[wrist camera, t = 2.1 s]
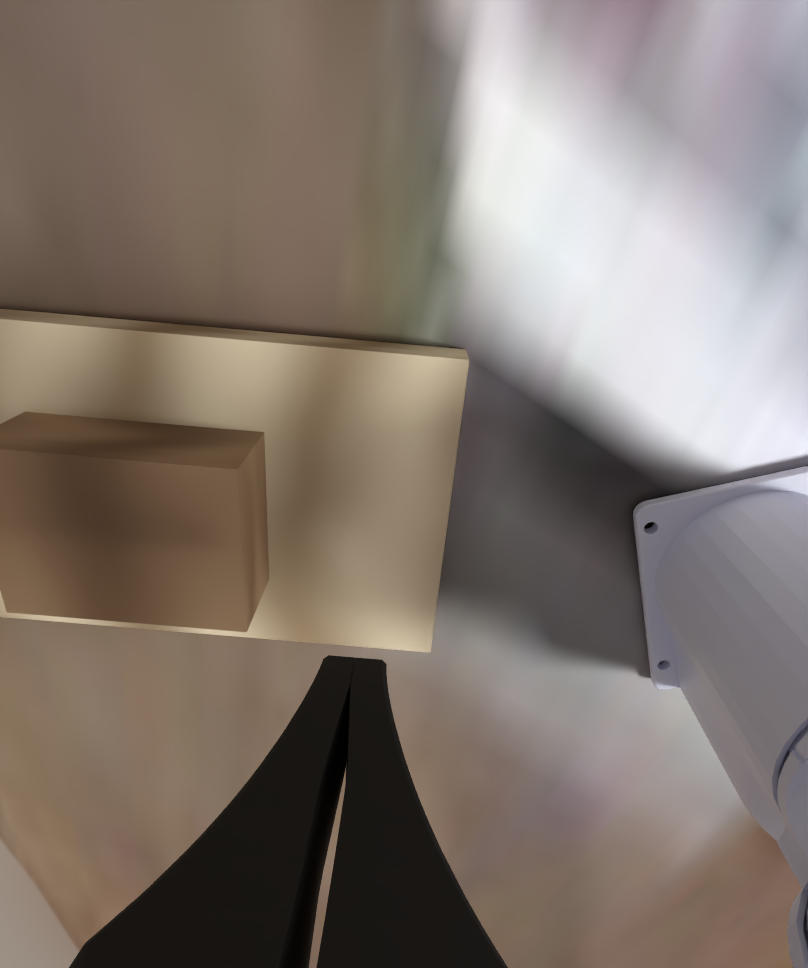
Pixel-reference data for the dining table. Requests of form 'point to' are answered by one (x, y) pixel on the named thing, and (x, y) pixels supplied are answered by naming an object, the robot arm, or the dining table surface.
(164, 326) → the board
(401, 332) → the dining table surface
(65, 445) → the tan cardboard box
